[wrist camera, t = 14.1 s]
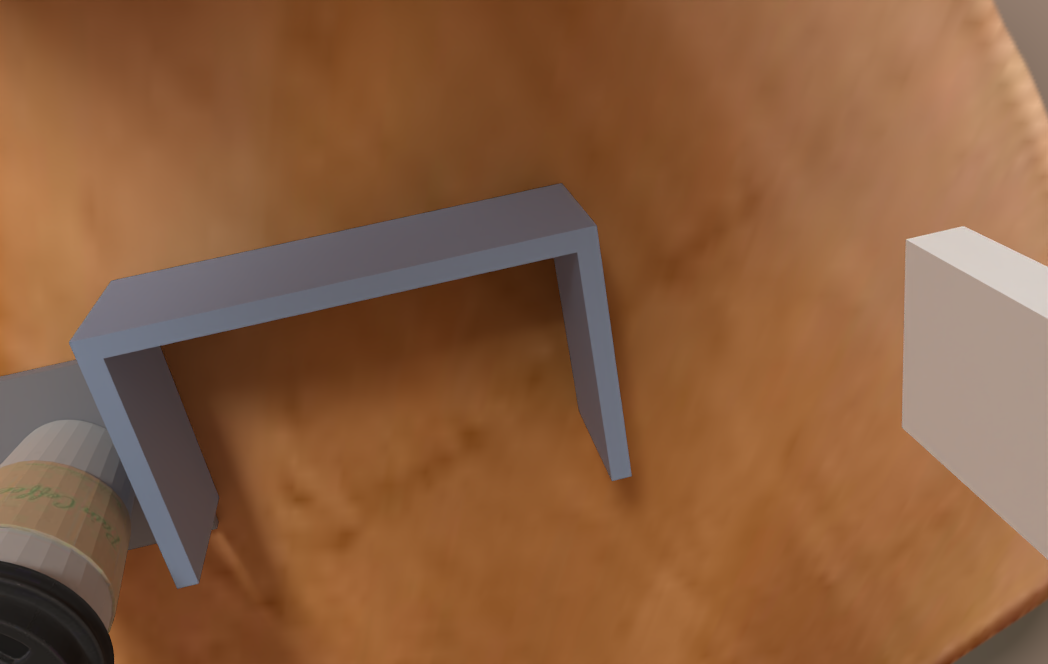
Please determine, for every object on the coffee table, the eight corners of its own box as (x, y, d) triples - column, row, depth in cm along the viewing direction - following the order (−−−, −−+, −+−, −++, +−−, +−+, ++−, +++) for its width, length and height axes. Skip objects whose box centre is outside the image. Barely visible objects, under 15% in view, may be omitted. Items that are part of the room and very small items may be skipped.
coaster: (-84, 395, 43) (-89, 401, 42) (148, 343, 44) (145, 348, 43) (12, 571, 47) (8, 579, 47) (218, 521, 48) (217, 528, 48)
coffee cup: (181, 399, 44) (107, 604, 31) (167, 553, 48) (95, 797, 34) (-29, 376, 42) (-209, 586, 29) (-28, 539, 46) (-187, 795, 32)
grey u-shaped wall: (111, 280, 42) (68, 342, 36) (561, 183, 44) (596, 225, 38) (200, 501, 48) (177, 588, 41) (596, 406, 49) (631, 476, 43)
